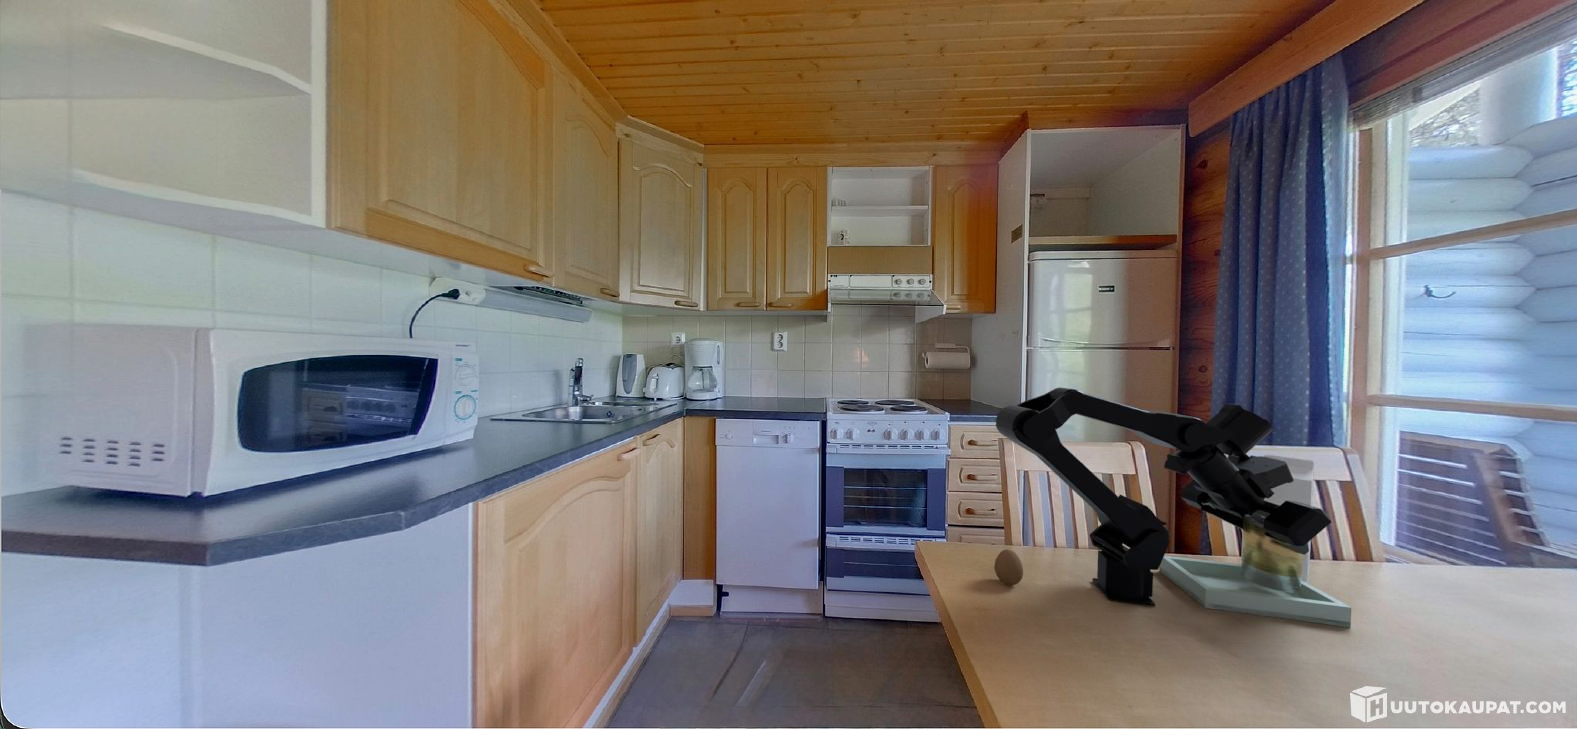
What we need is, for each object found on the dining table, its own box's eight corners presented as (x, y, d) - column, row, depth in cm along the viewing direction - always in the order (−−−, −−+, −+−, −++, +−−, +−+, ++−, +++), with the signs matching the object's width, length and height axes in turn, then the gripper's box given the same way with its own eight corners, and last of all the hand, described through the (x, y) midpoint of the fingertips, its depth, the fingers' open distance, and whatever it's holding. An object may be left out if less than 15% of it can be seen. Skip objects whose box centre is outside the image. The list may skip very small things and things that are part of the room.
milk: (1307, 587, 75) (1313, 463, 74) (1256, 572, 79) (1261, 456, 79) (1309, 576, 78) (1315, 458, 78) (1260, 563, 83) (1265, 452, 82)
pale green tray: (1205, 607, 68) (1205, 589, 68) (1159, 570, 79) (1160, 555, 79) (1350, 627, 63) (1351, 607, 63) (1279, 585, 75) (1280, 568, 75)
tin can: (1284, 595, 66) (1288, 519, 66) (1230, 573, 73) (1234, 504, 72) (1311, 590, 68) (1316, 516, 68) (1256, 569, 74) (1260, 501, 74)
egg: (994, 587, 72) (995, 552, 72) (993, 575, 77) (994, 542, 77) (1024, 593, 71) (1025, 557, 71) (1021, 580, 75) (1022, 547, 75)
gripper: (1321, 454, 61) (1397, 533, 61) (1200, 430, 79) (1257, 491, 79) (1261, 506, 61) (1336, 585, 61) (1154, 470, 80) (1212, 531, 80)
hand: (1280, 542), depth 70 cm, fingers closed on tin can, 7 cm apart
